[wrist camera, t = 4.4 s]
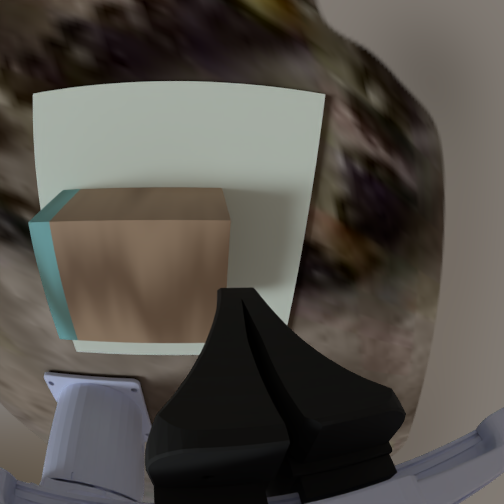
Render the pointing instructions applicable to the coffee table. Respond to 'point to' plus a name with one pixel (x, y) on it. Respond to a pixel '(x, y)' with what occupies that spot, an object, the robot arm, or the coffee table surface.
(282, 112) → the sage mat
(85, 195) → the walnut block
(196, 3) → the coffee table surface
